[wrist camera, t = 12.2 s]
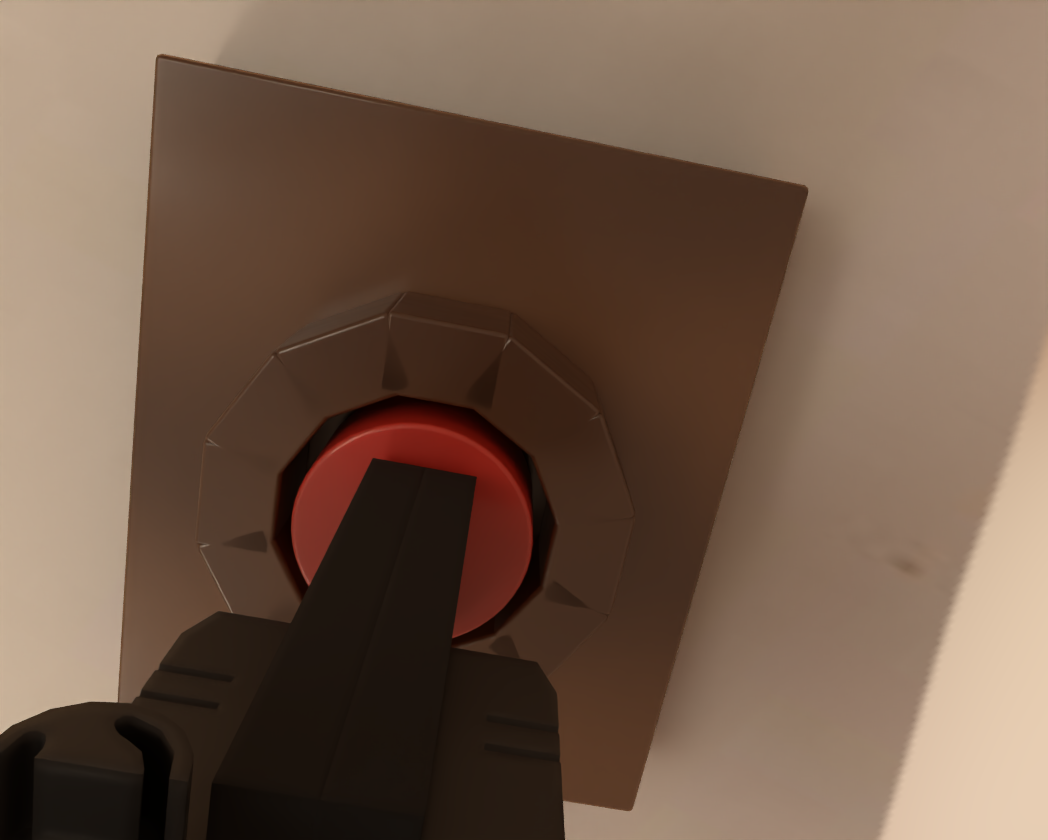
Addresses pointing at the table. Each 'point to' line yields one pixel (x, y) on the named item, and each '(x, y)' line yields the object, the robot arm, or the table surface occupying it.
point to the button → (438, 444)
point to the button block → (445, 365)
